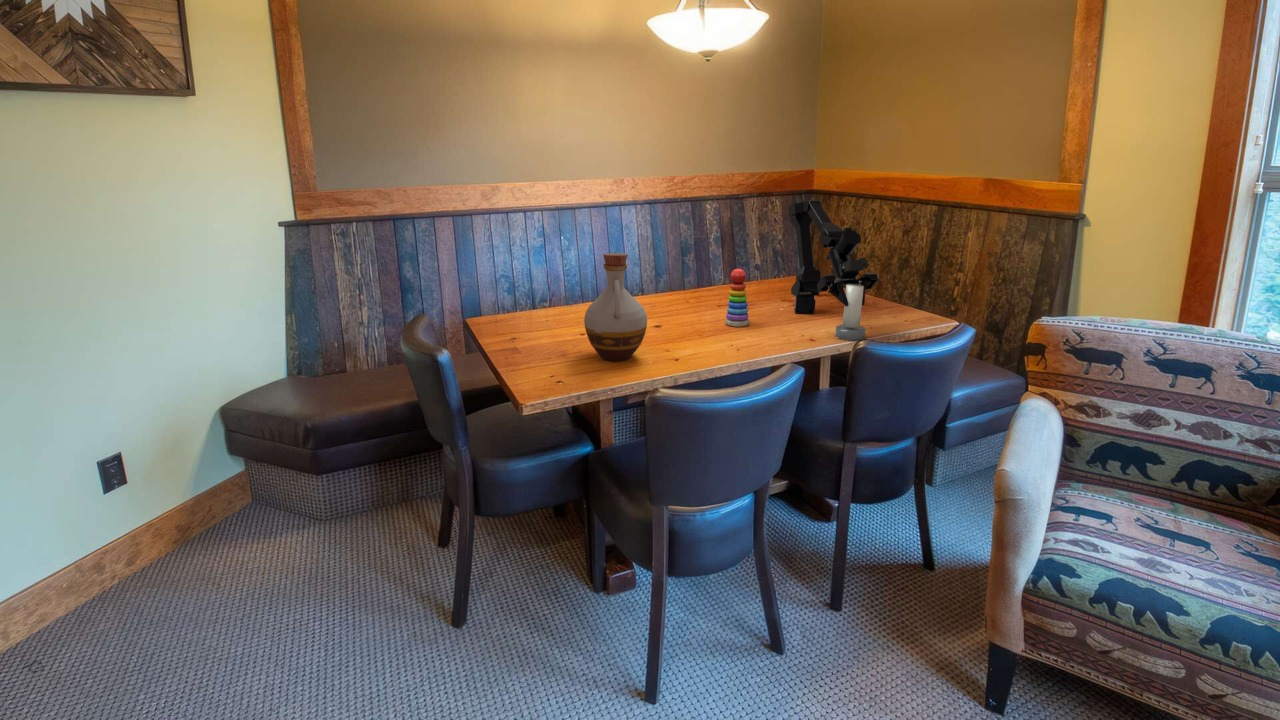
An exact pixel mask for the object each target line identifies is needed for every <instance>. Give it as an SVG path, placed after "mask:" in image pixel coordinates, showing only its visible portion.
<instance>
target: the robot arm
mask: <svg viewBox="0 0 1280 720" xmlns="http://www.w3.org/2000/svg"><path fill="white" fill-rule="evenodd" d="M787 211H788V215H789V220H790V222H791V224H792V225H793V226H794V228H795V230H796V231H795V232H796V233H795V235H796V241H797V242H796V244H797V254H798V263H799V264H798V265H799V269H798V271H797V273H796V275H795V282H794V283H793V285H792V286H791V288H790V292H791V294H790V295H793V296H794V297H795V299H794V307H793V311H794V313H795V314H804V315H805V314H808V315H811V314H812V315H813V314H815V311H816V300H817V299H815V297H816V296H817V297H818V296H819V295H820V293H821V292H823V293H825V292H827V294H831V295H832V296H834V297H835V298H836V299H837V300H838V301H840V302H841V303H842V305H845V306H848V300H847V297H846V295H845V294H846V291H845V289H844V288H845V287H844V286H846V285H847V284H859V285H863V286H864V289H863V299H862V306H865V304H866V303H865V302H866V301H865V300H866V290H871V289H873V287H874V286H875V285H876V284H877V282H878V281H879V276H878V274H877V273H875V272H870V273H869V272H868V273H867V272H866V273H864V274H863V275H862V276H861V277H857V276H859V275H860V272H861V271H864V270H865V269H867V268H868V267H869V262H868V260H867V257H860V258H858V259H850V256H849V255H852V254H853V252H854V251H855V250H856V248H857V247H858V246H859V244H860V243H861V241H862V238H861V235H860V234H859V233H858V232H857V231H855V230H853V229H852V227H845V228H844V230H843V229H842V228H841V227H840V226H838V225H836V224H834V223H833V222H832V220H831V219H830V217H829V216H828V214H827V213H826V211H825V210H824V208H823V206H822V202H821V200H819V199H806V200H804V201H796V202H795V201H794V202H792V203H791V204H790V205H789V207H788V210H787ZM812 222H813V224H814V225H815V227H816V228H817V231H818V232H819V236H818V241H819V243H820V245H821V247H822V248H823V249H829V248H830V250H828V254H826V260H830V264H831V266H832V270H831V274H827V275H826V274H825V275H824V274H823V276H822V277H821V271H820V269H817V268H816V267H815V265H814V254H813V243H812V235H811V225H812Z"/></svg>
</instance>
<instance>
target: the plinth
mask: <svg viewBox="0 0 1280 720" xmlns="http://www.w3.org/2000/svg"><path fill="white" fill-rule="evenodd" d="M835 336H836V337H838V338H840V339H839V340H841V339H843V340H842V341H846V340H849V341H848V342H860V341H859V340H861V341H863V340H862V339H864V340H865V339H866V327H864V326H861V325H860V326H858V327H848V326H844V325H843V323H842V324H838V325H836V327H835ZM836 337H835V338H836ZM838 338H837V339H838ZM856 340H857V341H856Z"/></svg>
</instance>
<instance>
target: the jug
mask: <svg viewBox="0 0 1280 720" xmlns="http://www.w3.org/2000/svg"><path fill="white" fill-rule="evenodd" d="M602 256H603V260H604V262H605V263H603V268H604V270H605V274H606V281H607V285H606V288H605V290H604V291H603V292H602V293H601V294H600V295H598V297H597V298H596V299H594V301H592V302H591V304H590V305H588V308H587V309H586V310H585V313H584V317H583V318H584V320H583V321H584V322H583V323H584V329H585V333H586V336H587V339H588V341H589V343H590V345H591V347H593V349H594V350H595V352H596V353H597V354H598V355H599V356H600V357H601V359H603V360H604V361H606V362H607V361H608V362H612V363H614V362H624V361H628V360H630V359H631V358H632V356H633V355H634V354H635V353H636V351H637V350H639V348H640V346H641V345H642V343H643V340H644V338H645V335H646V331H647V328H648V315H647V312H646V310H645V308H644V306H643V305H642V304H641V303H640V302H639V301H638V300H637V299H636V298H635V297H634V296H632V295H631V293H630V292H629V291H628V290H627V289H626V288H625V285H624V284H625V273H626V270H627V268H628V263H627V260H628V253H621V252H620V253H619V252H618V253H617V252H614V253H613V252H612V253H611V252H610V253H604V254H602Z"/></svg>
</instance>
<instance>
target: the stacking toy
mask: <svg viewBox="0 0 1280 720" xmlns="http://www.w3.org/2000/svg"><path fill="white" fill-rule="evenodd" d="M730 279H731V281H732V283H731V284H730V287H729V288H730V290H729V293H728V294H729V296H728V301H727V305H728V306H727V309H726V312H727V313H726V314H725V317H726V318H725V322H724V323H725V324H726V325H727V326H731V327H735V328H736V327H739V328H741V327H746V326H748V325H749V324H750V320H749V313H748V312H749V308H748V304H749V303H748V301H747V300H748V297H747V291H746V287H747V286H746V283H744V282H745V281H746V279H747V274H746V272H745V271H744V269H742V268H736V269H734V270H732V271H731V273H730Z"/></svg>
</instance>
